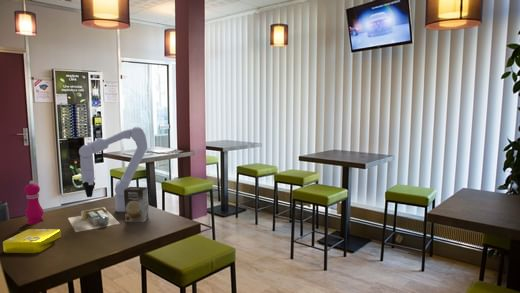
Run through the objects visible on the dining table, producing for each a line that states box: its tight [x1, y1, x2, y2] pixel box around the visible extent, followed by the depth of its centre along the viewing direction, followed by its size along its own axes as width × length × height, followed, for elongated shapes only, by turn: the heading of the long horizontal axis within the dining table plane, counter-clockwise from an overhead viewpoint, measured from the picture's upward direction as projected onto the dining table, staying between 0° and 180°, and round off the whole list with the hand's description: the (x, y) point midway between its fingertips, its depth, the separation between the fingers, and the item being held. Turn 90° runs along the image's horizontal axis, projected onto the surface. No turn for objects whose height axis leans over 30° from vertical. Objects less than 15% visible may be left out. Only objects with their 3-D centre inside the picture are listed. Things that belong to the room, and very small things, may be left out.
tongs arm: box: [88, 211, 100, 225], centre depth 168 cm, size 2×14×4 cm, turn 36°
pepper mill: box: [24, 180, 44, 226], centre depth 170 cm, size 7×7×20 cm
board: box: [67, 210, 121, 233], centre depth 169 cm, size 18×24×1 cm
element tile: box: [2, 228, 62, 254], centre depth 143 cm, size 15×15×5 cm
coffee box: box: [124, 186, 150, 223], centre depth 169 cm, size 9×6×16 cm
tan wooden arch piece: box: [80, 206, 108, 221], centre depth 173 cm, size 10×5×4 cm, turn 125°
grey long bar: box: [97, 210, 109, 228], centre depth 168 cm, size 4×17×4 cm, turn 35°
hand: (89, 196), depth 180 cm, fingers closed
